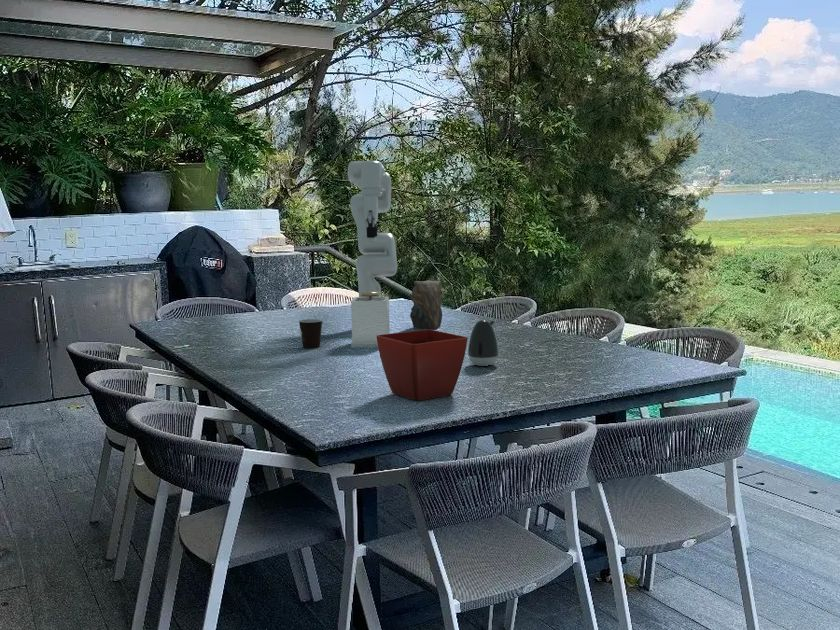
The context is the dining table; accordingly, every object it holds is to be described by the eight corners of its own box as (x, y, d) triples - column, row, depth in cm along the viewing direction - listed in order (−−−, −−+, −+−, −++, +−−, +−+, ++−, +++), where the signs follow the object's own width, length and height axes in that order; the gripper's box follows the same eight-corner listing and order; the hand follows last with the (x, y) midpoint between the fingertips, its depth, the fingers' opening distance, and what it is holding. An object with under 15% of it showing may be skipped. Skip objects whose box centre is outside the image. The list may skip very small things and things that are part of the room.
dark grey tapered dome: (505, 365, 285) (505, 319, 283) (485, 369, 277) (484, 323, 275) (482, 361, 292) (481, 316, 290) (461, 365, 284) (461, 320, 282)
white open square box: (354, 341, 336) (353, 297, 333) (390, 341, 335) (389, 296, 333) (351, 347, 322) (349, 301, 319) (388, 347, 321) (387, 300, 319)
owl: (409, 328, 368) (408, 281, 366) (421, 324, 380) (420, 279, 377) (436, 329, 363) (435, 282, 360) (447, 325, 375) (447, 279, 372)
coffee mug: (318, 349, 320) (318, 322, 318) (296, 348, 322) (295, 322, 320) (328, 344, 331) (327, 318, 330) (306, 343, 333) (306, 318, 331)
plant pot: (470, 395, 241) (469, 336, 239) (414, 406, 230) (413, 344, 228) (429, 384, 257) (429, 328, 255) (375, 393, 246) (374, 335, 244)
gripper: (363, 193, 343) (364, 236, 346) (359, 193, 326) (360, 238, 328) (382, 192, 343) (383, 236, 345) (379, 192, 326) (379, 238, 328)
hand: (372, 237), depth 337 cm, fingers open, 9 cm apart
